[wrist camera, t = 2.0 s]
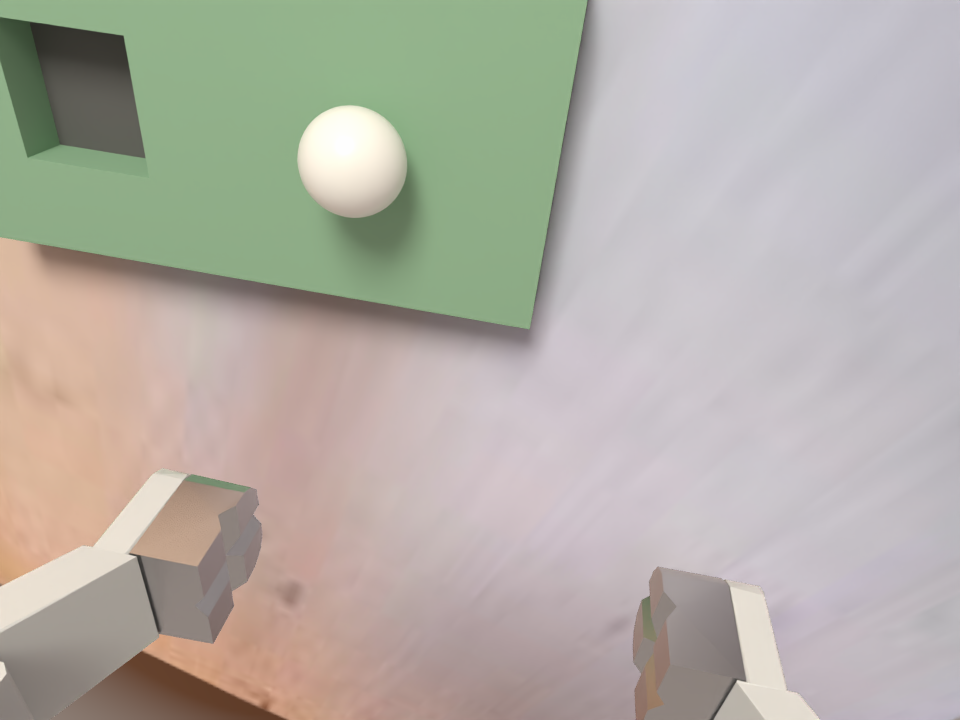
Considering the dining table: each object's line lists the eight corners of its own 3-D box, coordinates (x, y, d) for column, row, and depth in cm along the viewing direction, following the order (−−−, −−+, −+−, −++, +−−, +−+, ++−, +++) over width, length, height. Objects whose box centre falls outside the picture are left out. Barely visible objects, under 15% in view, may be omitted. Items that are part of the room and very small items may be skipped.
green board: (593, -35, 24) (592, -31, 22) (534, 302, 32) (529, 329, 30) (-75, -125, 26) (-134, -129, 24) (26, 215, 34) (-11, 235, 32)
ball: (421, 102, 25) (393, 130, 22) (415, 203, 27) (389, 242, 24) (318, 87, 25) (275, 112, 22) (321, 188, 28) (283, 224, 24)
